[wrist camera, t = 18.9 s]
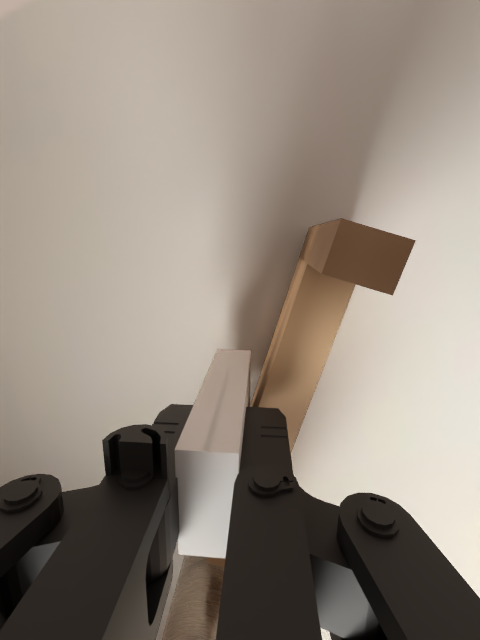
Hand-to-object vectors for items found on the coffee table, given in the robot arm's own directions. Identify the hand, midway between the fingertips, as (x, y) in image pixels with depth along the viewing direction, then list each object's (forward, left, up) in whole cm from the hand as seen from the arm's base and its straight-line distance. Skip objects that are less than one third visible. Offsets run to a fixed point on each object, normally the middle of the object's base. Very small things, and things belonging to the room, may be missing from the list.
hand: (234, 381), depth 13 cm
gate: (+2, -1, -1) cm, 2 cm away
